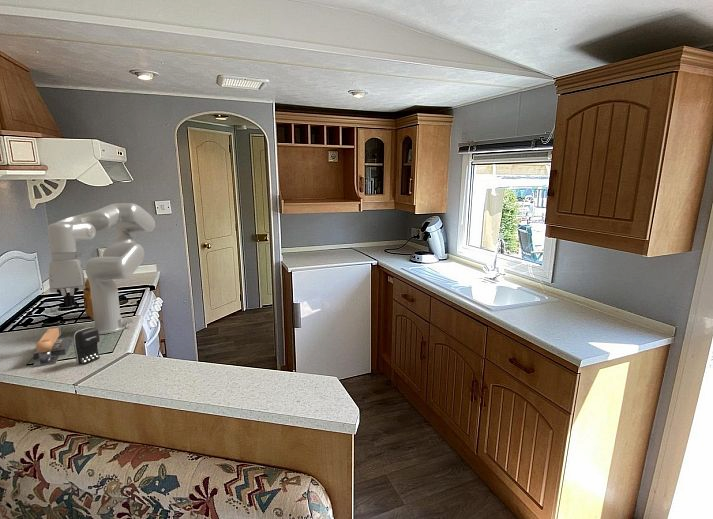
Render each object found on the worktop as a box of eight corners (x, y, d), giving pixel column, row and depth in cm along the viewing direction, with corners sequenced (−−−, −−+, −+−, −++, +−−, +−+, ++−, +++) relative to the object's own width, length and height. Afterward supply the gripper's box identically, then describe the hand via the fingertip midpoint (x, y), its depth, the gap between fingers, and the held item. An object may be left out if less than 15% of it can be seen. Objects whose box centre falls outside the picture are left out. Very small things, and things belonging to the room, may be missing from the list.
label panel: (72, 341, 150) (71, 336, 149) (65, 354, 137) (64, 348, 136) (43, 345, 145) (42, 340, 145) (33, 359, 132) (32, 353, 132)
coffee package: (88, 321, 177) (82, 274, 174) (84, 315, 186) (78, 271, 183) (113, 316, 184) (108, 271, 180) (108, 311, 193) (103, 268, 190)
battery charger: (83, 366, 126) (79, 333, 124) (75, 365, 127) (71, 332, 126) (103, 358, 133) (100, 326, 131) (95, 357, 134) (92, 325, 132)
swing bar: (61, 334, 146) (60, 325, 145) (50, 351, 128) (49, 342, 128) (48, 336, 144) (47, 327, 144) (35, 354, 126) (34, 344, 126)
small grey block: (59, 357, 134) (57, 346, 133) (55, 363, 129) (54, 352, 128) (37, 361, 131) (35, 350, 130) (32, 367, 126) (31, 355, 125)
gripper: (90, 254, 146) (95, 301, 148) (40, 257, 139) (46, 306, 141) (87, 256, 140) (93, 305, 142) (35, 259, 132) (42, 311, 135)
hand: (69, 305), depth 142 cm, fingers closed
